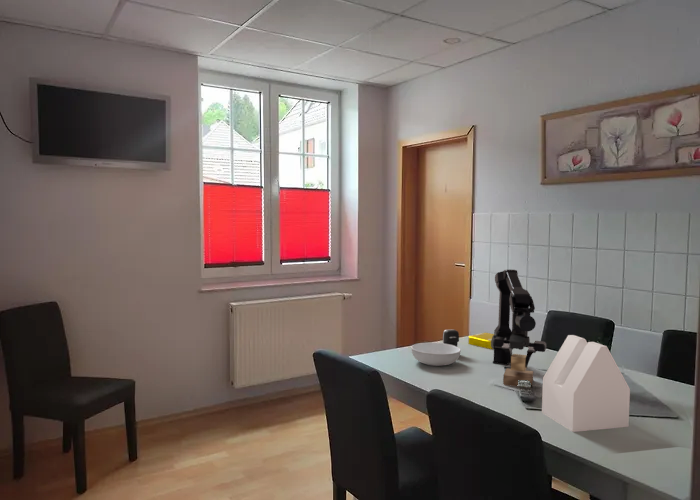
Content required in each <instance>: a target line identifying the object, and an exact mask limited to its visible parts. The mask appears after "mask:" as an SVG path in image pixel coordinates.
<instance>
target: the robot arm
mask: <svg viewBox="0 0 700 500" xmlns="http://www.w3.org/2000/svg"><path fill="white" fill-rule="evenodd" d="M518 275H519V272H518V270H517V269H504V270H502V271H499V272H496V273H495V276H494V282H495V286H496V288H497V290H498V292H499V297H498V298H499V299H498V300H499V303H498V322H497V323H498V325H497V326H496V327H495V328H494V331H493V334H494V335H493V337H492V340H491V347H492V348H493V349H492V350H493V360H492V363H493V364H499V365H509V364H510V365H511V356H512V355H513V350H515V349H516V350H521V351H522V350H524V348H528V349H527V351H526V355H527V357H526V363H525V367H526V369H527V368H528V365H529V362H530V360H531V357H532V356H533V354H536V353H537V352H539V353H540V352H541V353H545V352H546V349H547V342H546V341H542V340H535V341H534V342H531V339H530V336H528V335H529V334H528V333H529V332H531V331H533V330H534V329H535V328H536V325H537V324H536V320H535V318H534V317H533V316H531V313H532V314H534V313H535V303H534V300H533V298H532V296H531V294H530V293H529V291H528V290H527V289H525V288H524V287H523V285H522V283H521V281H520V278H519V276H518ZM510 312H512V313H510ZM511 314H512V318H510V315H511ZM510 319H511V328H510Z"/></svg>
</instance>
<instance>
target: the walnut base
mask: <svg viewBox="0 0 700 500" xmlns="http://www.w3.org/2000/svg"><path fill="white" fill-rule="evenodd" d="M502 376H503V379H502V380H503V381H502V385H503V384H504V385H503V386H510V385H511V386H512V387H518V386H517V385H518V380H528V381H530V383H531V385H532V386H533V383H534V371H533V370H527V369H526V370H525V372H524V371H516V370H511V368H509V367H508V368H505V370H504V373H503V375H502ZM511 386H510V387H511Z"/></svg>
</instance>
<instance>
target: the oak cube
mask: <svg viewBox="0 0 700 500" xmlns="http://www.w3.org/2000/svg"><path fill="white" fill-rule="evenodd" d="M526 357H527V354H521V353H520V354H518V353H512V356H511V364H510V369H511V370H516V371H524V372H525V370H527V368H526V367H525V363H526Z"/></svg>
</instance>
